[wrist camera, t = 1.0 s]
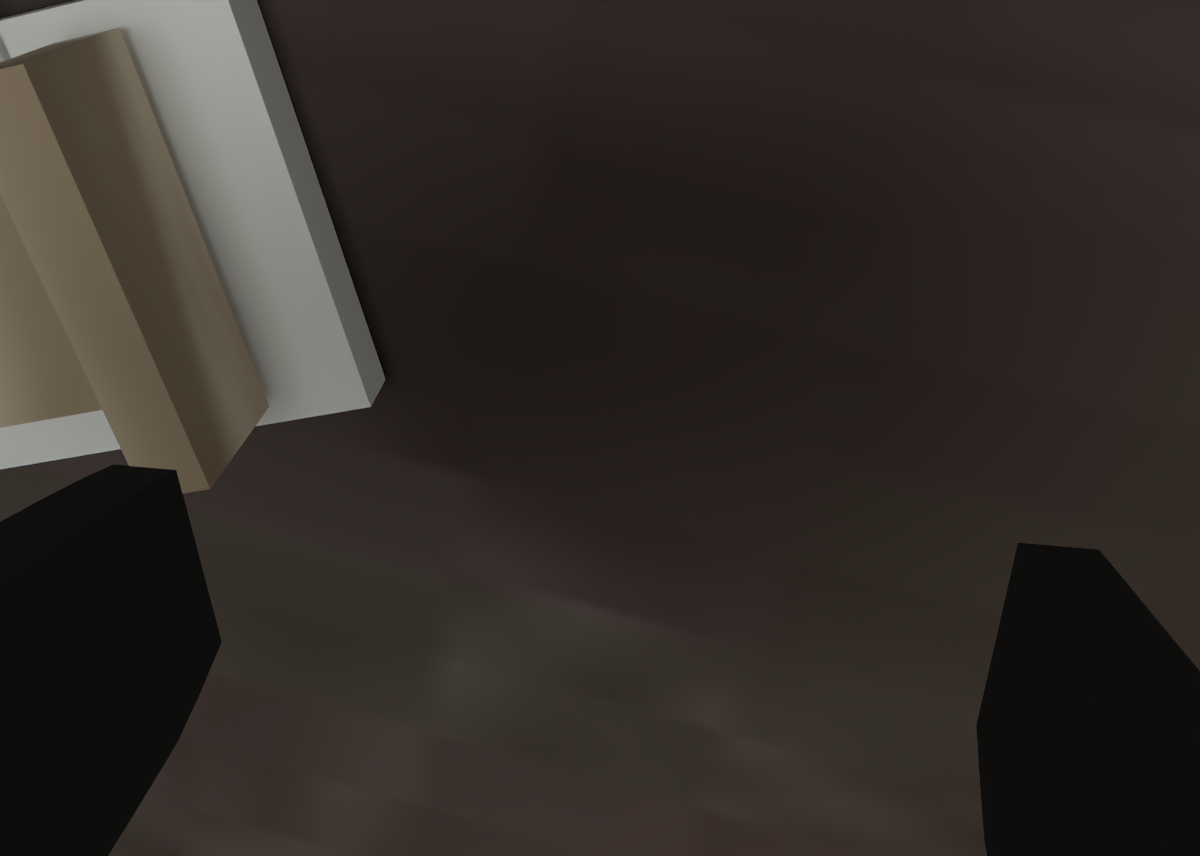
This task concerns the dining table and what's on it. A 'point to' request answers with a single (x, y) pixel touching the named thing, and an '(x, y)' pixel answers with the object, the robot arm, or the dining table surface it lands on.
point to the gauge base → (227, 206)
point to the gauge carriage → (111, 270)
